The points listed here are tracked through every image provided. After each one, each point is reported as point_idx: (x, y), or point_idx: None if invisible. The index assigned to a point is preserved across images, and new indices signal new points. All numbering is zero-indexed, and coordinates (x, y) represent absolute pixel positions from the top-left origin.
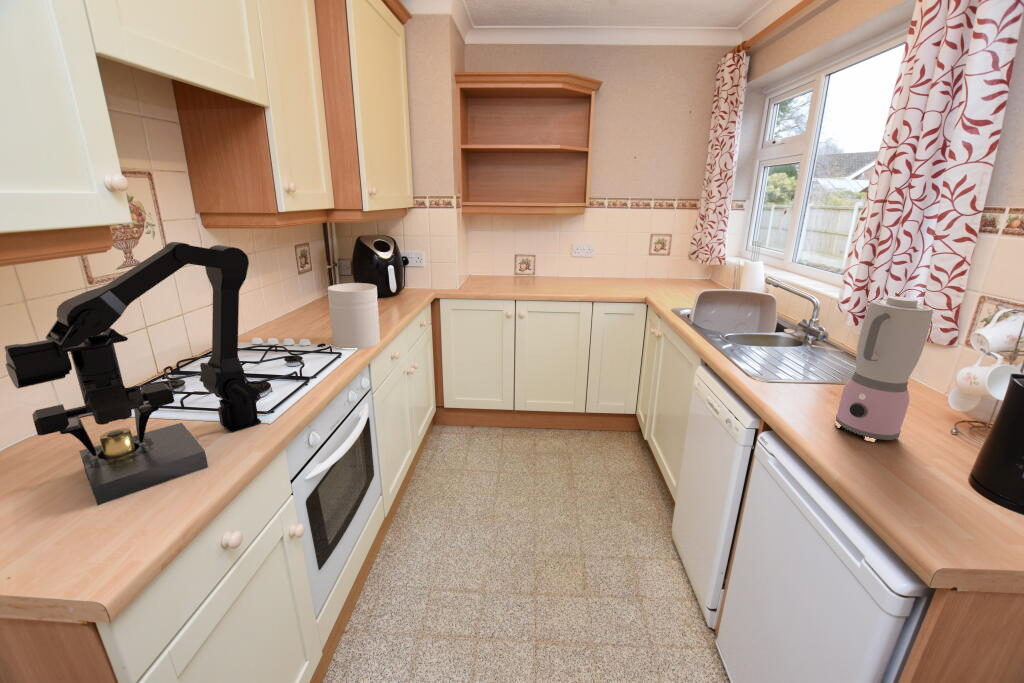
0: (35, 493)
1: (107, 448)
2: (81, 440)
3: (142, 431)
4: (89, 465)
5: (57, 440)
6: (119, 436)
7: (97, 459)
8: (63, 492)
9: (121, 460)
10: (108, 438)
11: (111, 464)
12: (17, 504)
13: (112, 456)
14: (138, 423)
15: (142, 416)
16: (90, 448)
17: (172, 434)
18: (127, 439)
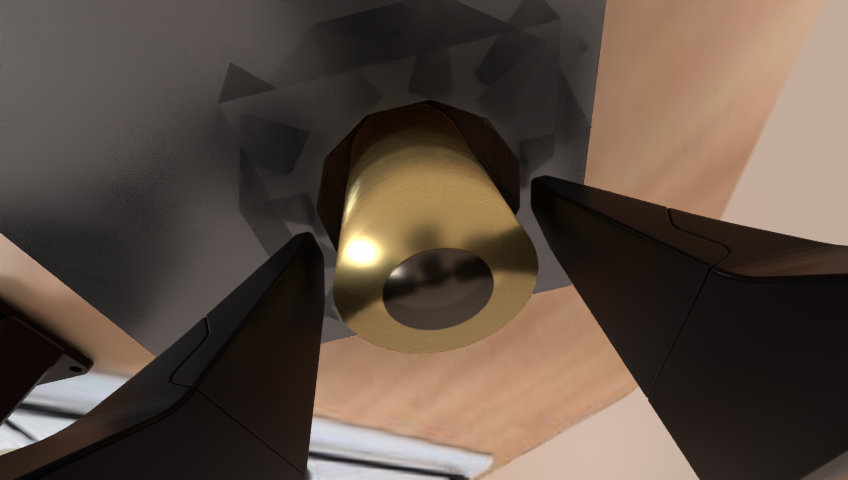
0: (704, 102)
1: (484, 177)
2: (704, 223)
3: (254, 282)
4: (574, 83)
5: (561, 390)
6: (404, 236)
7: (525, 152)
8: (638, 36)
9: (396, 40)
10: (485, 235)
11: (458, 1)
12: (784, 30)
13: (452, 144)
14: (241, 353)
15: (79, 440)
16: (587, 192)
17: (164, 281)
18: (354, 215)
